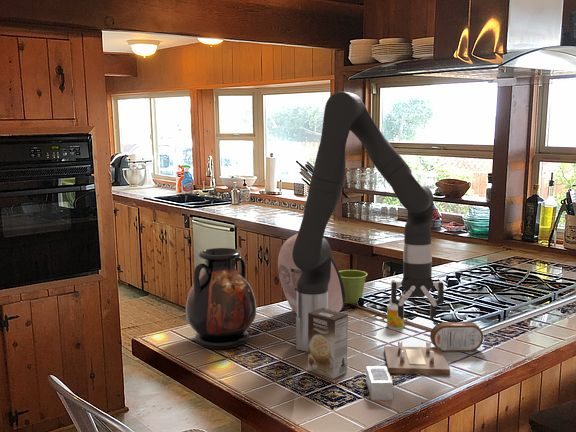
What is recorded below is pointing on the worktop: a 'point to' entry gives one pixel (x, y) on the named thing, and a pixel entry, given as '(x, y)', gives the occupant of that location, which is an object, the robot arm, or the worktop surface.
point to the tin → (457, 336)
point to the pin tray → (416, 360)
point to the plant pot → (353, 284)
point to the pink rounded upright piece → (292, 273)
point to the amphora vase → (220, 300)
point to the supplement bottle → (394, 316)
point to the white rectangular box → (379, 383)
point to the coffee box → (327, 342)
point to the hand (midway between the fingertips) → (416, 318)
